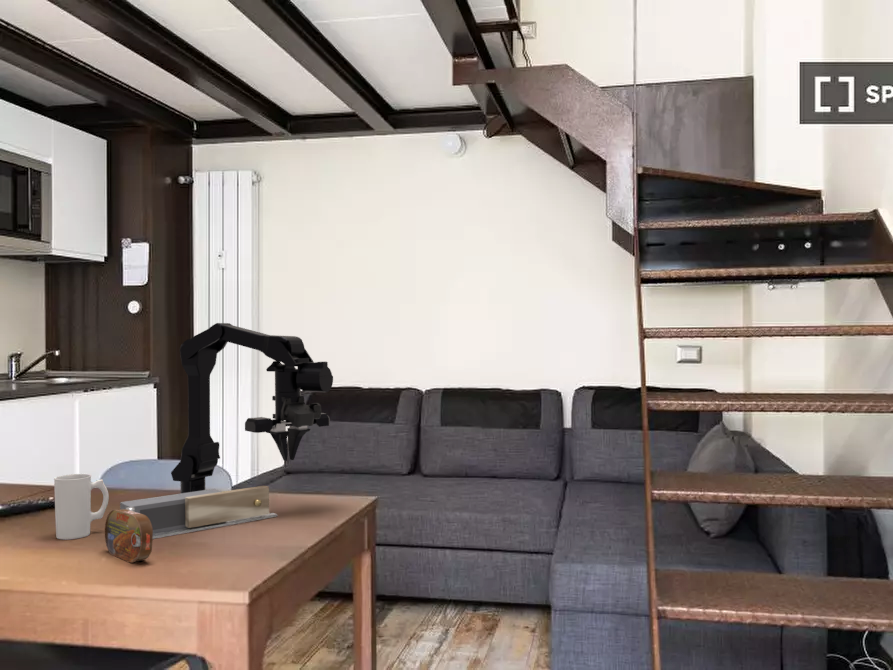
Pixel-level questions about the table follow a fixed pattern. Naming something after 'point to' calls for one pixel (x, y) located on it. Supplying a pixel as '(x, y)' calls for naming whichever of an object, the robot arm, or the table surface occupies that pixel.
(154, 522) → the cabinet
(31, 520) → the table surface
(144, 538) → the tin
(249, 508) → the door
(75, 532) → the mug
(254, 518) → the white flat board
